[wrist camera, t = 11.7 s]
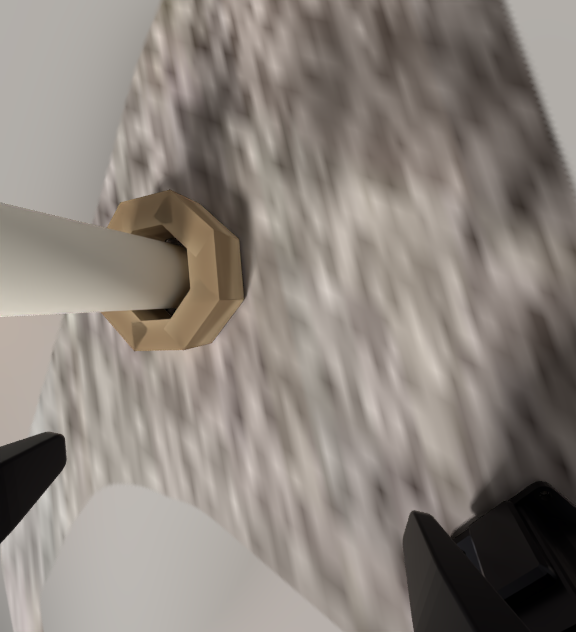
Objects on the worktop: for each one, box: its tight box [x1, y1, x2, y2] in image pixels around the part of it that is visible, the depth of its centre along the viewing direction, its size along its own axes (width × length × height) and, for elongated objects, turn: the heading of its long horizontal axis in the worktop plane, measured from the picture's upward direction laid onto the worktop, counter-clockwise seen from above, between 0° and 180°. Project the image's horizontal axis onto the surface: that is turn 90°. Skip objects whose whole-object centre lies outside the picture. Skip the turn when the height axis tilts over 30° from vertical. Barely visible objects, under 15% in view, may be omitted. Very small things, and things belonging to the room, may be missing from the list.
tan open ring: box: [101, 190, 244, 351], centre depth 20 cm, size 10×10×3 cm
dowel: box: [0, 203, 190, 317], centre depth 15 cm, size 4×4×14 cm
